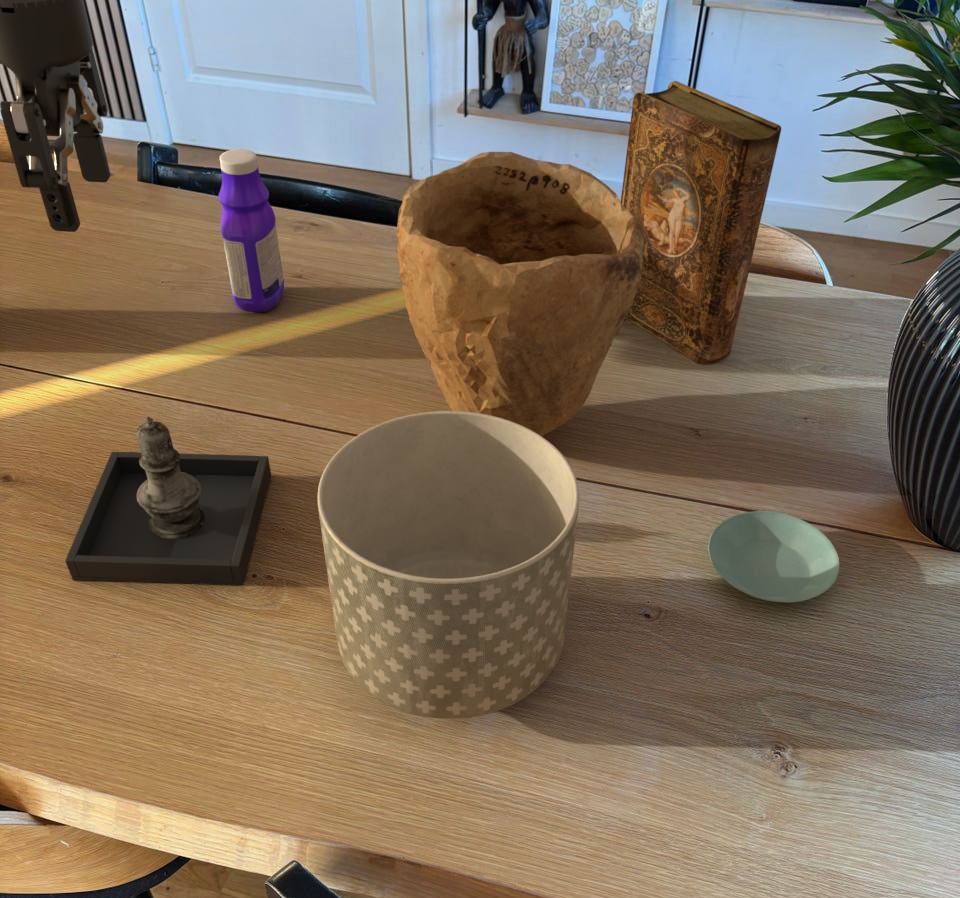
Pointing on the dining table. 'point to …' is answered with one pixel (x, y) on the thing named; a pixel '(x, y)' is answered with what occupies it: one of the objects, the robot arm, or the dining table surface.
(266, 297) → the bottle
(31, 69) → the robot arm
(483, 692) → the planter
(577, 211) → the tan textured vessel
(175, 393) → the dining table surface
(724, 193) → the book
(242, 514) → the tray
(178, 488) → the chess piece
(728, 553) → the saucer
